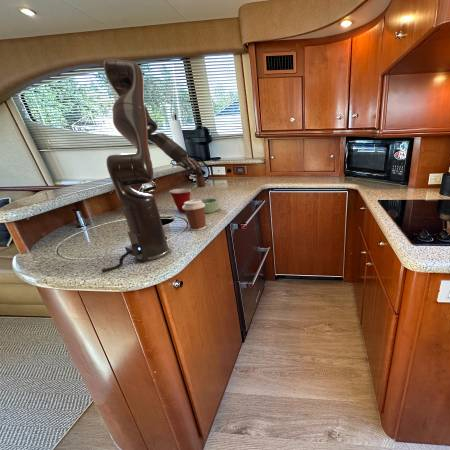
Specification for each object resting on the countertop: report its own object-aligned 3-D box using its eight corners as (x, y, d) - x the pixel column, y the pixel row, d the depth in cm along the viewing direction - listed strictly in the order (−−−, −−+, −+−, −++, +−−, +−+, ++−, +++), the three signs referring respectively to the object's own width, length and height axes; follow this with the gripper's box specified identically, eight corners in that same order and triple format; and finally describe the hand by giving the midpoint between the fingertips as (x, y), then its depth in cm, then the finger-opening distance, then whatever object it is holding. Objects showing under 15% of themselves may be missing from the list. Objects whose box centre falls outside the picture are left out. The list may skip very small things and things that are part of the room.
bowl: (204, 215, 123) (202, 205, 121) (190, 212, 129) (187, 203, 127) (223, 209, 133) (222, 199, 131) (209, 206, 139) (207, 197, 137)
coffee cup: (198, 223, 110) (193, 198, 106) (213, 225, 107) (208, 199, 103) (182, 230, 103) (176, 203, 99) (198, 232, 99) (192, 205, 95)
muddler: (200, 187, 121) (196, 167, 118) (195, 187, 123) (191, 167, 120) (207, 186, 124) (203, 166, 121) (202, 185, 126) (198, 166, 123)
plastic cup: (189, 213, 128) (185, 191, 124) (170, 214, 129) (164, 192, 125) (198, 207, 138) (194, 187, 134) (180, 208, 139) (175, 188, 135)
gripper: (170, 146, 110) (201, 171, 114) (185, 145, 123) (212, 167, 127) (162, 158, 112) (192, 182, 116) (178, 156, 126) (204, 178, 129)
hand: (203, 174), depth 121 cm, fingers closed on muddler, 4 cm apart
